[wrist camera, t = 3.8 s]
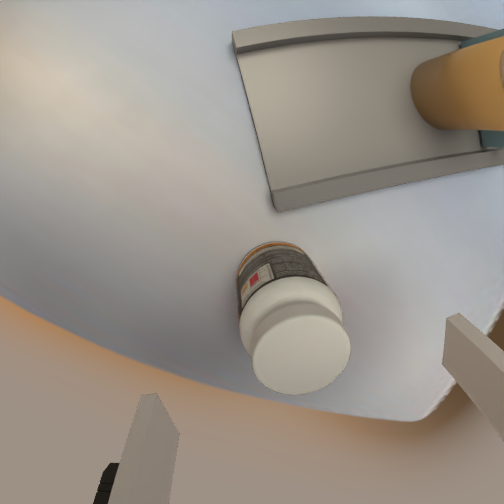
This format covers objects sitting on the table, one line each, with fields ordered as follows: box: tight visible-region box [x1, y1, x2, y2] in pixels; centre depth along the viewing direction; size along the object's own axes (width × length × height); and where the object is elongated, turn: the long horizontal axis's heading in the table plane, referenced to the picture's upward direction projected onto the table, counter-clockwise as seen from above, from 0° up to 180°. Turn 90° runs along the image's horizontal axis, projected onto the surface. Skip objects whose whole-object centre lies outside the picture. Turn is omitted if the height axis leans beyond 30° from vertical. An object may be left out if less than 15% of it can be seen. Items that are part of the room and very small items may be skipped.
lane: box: [232, 17, 504, 212], centre depth 17 cm, size 27×12×6 cm, turn 104°
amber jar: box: [410, 36, 504, 131], centre depth 14 cm, size 6×6×10 cm
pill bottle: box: [236, 242, 351, 395], centre depth 19 cm, size 6×6×10 cm
